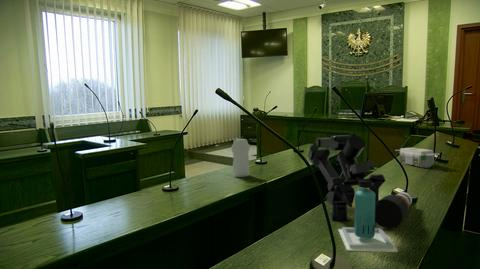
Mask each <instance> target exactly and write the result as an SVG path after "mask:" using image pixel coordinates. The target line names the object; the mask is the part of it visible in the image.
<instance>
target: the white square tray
mask: <svg viewBox="0 0 480 269" xmlns="http://www.w3.org/2000/svg"><path fill="white" fill-rule="evenodd" d="M354 228H355V227H347V226H346V227H344V226H342V227H341V228H338V229H337V230H338V233H339V236H340V237H341V240H342V243H343V244H344V245H343V246H344V247H345V250H346V251H347V252H374V253H375V252H376V253H379V252H380V253H398V252H399V251H398V249H397V247H396V246H395V245H394V244H393V242H392V241H391V239H390V237H388V235H387V234H386V232H385V231H384V230H383V229H382V227H375V235H374V237H373V238H371V239H363V238H359V237H357V236H356V235H355V232H354V231H355V229H354Z"/></svg>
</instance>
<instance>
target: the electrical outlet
mask: <svg viewBox="0 0 480 269" xmlns="http://www.w3.org/2000/svg"><path fill="white" fill-rule="evenodd" d="M395 151H396V152H399V163H400V162H401V164H405V165H411V166H415V167H419V168H422V169H423V168H424V169H425V168H432V166H434V164H435V156H440V155H441V154H440V153H434V150H431V149H424V148H417V147H404V148H403V147H402V148H399V149H395Z"/></svg>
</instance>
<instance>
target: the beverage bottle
mask: <svg viewBox="0 0 480 269" xmlns="http://www.w3.org/2000/svg"><path fill="white" fill-rule="evenodd" d="M358 187H360V188H359V189H357V190H356V191H355V195H354V223H353V225H354V227H353V228H354V229H355V231H354V232H355V235H356V236H357V237H359V238H363V239H371V238H373V237H374V235H375V228H376V222H375V210H376V209H375V208H376V205H375V196H376V194H375V193H374V192H373V191H372V190H370V189H369V188H371V187H372V181H371V180H369V178H364V179H360V180H359V185H358Z"/></svg>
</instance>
